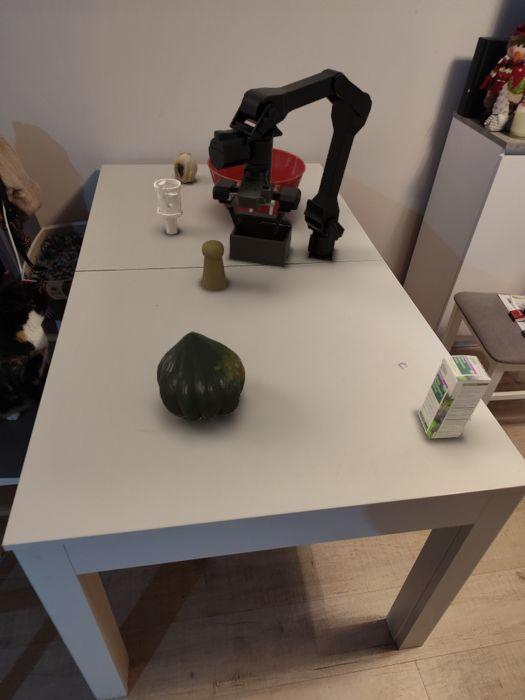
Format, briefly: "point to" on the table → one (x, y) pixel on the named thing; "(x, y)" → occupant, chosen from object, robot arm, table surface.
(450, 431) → the syrup box
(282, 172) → the mixing bowl
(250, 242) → the open black tray
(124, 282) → the table surface
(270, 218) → the lid
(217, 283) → the peg doll
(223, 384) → the squash
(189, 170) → the beige rounded hollow piece
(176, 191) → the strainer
